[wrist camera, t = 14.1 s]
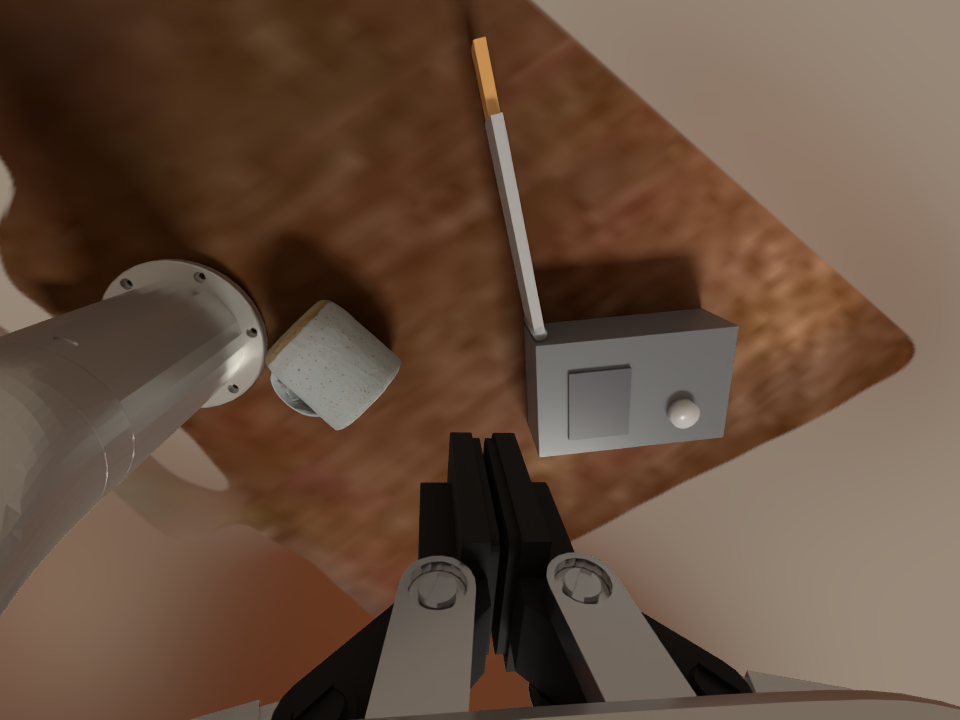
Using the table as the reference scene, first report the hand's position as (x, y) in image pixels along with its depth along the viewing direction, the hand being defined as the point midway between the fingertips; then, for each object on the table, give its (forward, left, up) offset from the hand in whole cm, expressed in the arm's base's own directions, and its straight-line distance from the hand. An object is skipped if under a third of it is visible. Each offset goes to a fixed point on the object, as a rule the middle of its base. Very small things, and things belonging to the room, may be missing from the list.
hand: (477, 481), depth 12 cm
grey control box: (+14, -10, -28) cm, 33 cm away
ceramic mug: (-11, -6, -28) cm, 31 cm away
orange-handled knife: (+5, +5, -28) cm, 29 cm away
